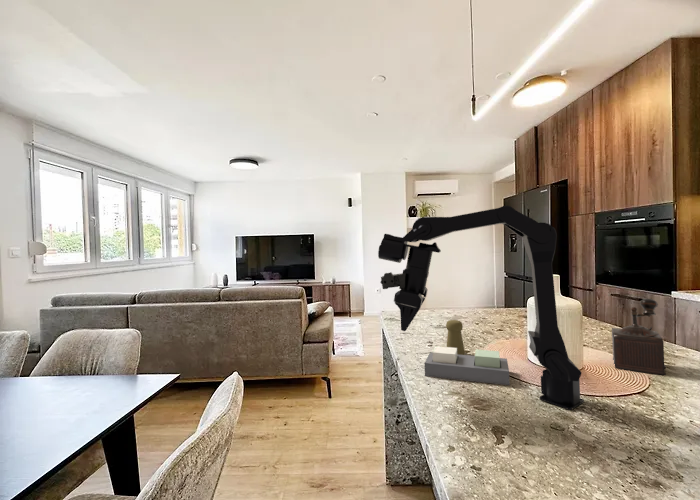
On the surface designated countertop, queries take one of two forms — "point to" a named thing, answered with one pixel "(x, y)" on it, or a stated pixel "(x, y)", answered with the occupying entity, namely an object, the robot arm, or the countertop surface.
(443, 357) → the cream key
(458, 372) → the key panel
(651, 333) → the brown manual coffee grinder
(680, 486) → the countertop surface
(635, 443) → the countertop surface
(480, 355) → the sage key
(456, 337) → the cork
